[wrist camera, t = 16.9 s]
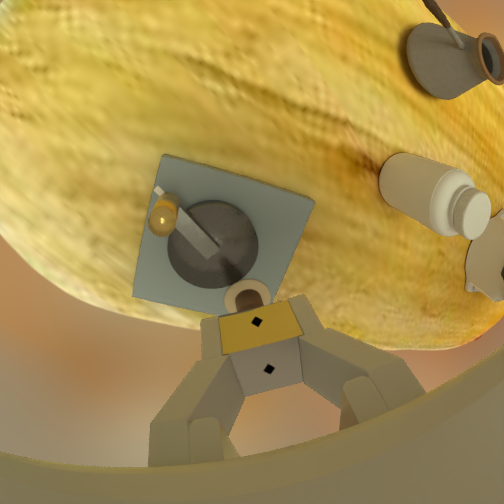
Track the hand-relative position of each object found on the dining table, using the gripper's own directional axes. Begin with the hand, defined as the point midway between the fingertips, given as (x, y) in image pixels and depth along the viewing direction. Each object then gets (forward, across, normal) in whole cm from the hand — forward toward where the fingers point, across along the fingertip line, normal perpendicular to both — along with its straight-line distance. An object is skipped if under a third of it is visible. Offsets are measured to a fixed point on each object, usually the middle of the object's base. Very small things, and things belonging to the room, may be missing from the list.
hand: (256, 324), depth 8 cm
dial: (+25, +3, +6) cm, 26 cm away
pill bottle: (+27, -24, +6) cm, 37 cm away
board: (+27, +2, +9) cm, 29 cm away
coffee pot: (+27, -27, -13) cm, 41 cm away
